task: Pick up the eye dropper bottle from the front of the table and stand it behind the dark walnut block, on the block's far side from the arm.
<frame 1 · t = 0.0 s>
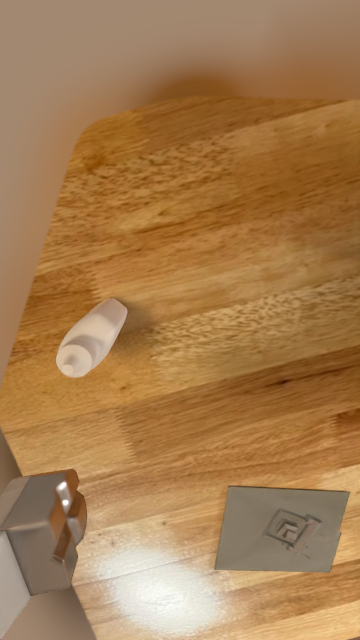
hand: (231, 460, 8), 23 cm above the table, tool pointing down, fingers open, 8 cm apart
eye dropper bottle: (104, 322, 31), on the table
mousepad: (319, 517, 38), on the table
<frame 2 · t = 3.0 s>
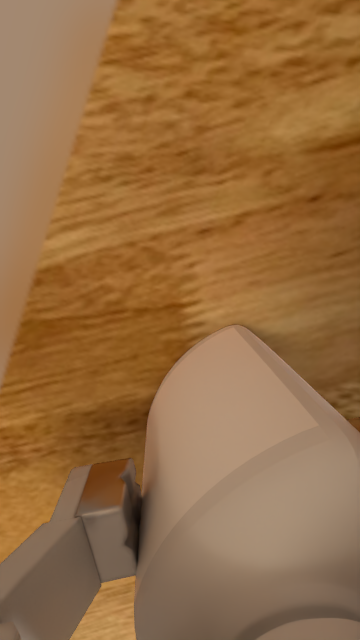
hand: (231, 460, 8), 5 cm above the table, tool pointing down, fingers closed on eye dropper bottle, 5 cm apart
eye dropper bottle: (207, 382, 12), on the table, touching gripper
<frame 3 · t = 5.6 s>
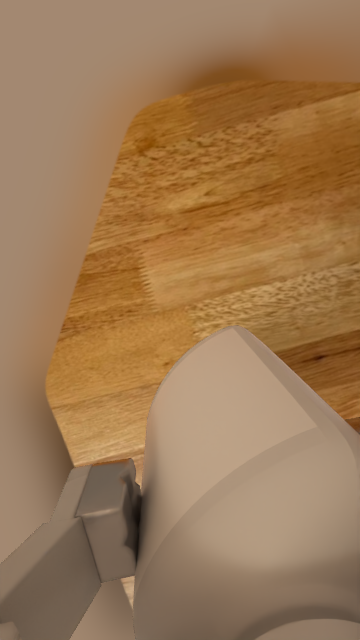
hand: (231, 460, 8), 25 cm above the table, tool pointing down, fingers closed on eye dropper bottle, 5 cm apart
eye dropper bottle: (206, 382, 12), point 20 cm above the table, touching gripper
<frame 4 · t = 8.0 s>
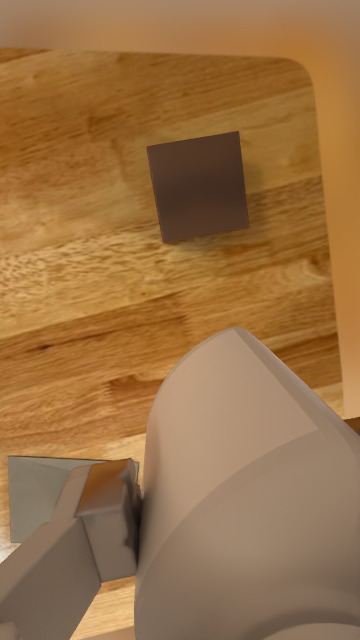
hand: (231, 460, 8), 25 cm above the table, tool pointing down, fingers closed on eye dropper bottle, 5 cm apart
walnut block: (191, 201, 30), on the table
eye dropper bottle: (207, 384, 12), point 20 cm above the table, touching gripper
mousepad: (113, 489, 38), on the table
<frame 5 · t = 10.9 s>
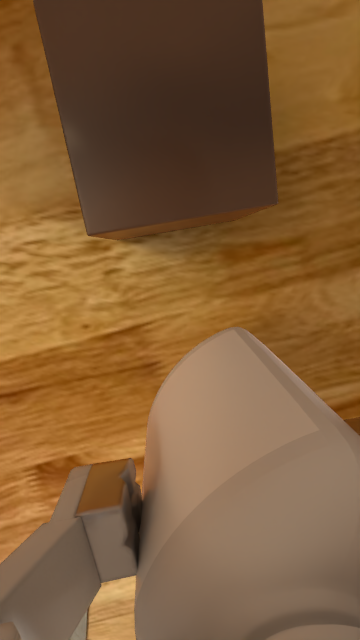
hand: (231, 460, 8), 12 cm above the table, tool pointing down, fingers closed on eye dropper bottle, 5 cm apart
walnut block: (165, 165, 17), on the table
eye dropper bottle: (207, 384, 12), point 7 cm above the table, touching gripper
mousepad: (52, 620, 24), on the table
when the fingers open (4 cm above the table, at t = 13.1 s): eye dropper bottle stays where it is, on the table.
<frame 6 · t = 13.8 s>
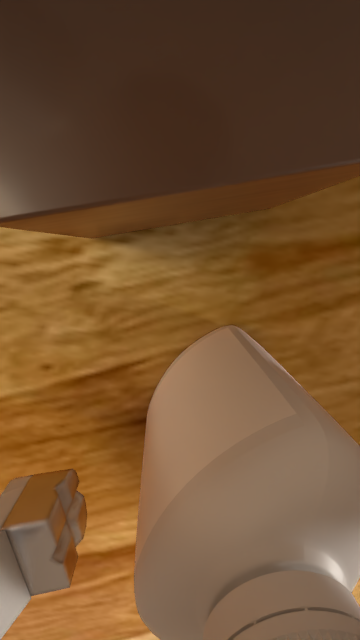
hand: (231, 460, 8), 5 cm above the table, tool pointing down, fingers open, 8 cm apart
walnut block: (164, 120, 11), on the table
eye dropper bottle: (203, 379, 13), on the table
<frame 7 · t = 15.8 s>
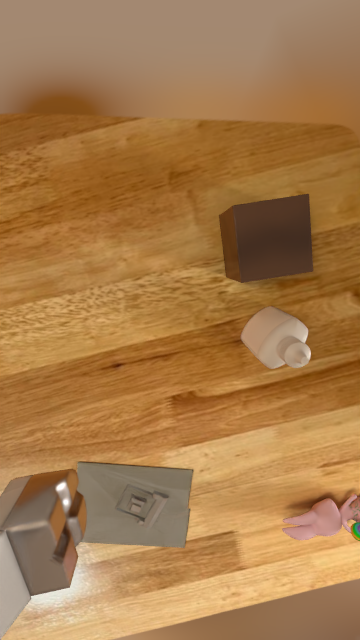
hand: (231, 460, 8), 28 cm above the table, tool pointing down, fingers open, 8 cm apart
walnut block: (252, 242, 34), on the table
eye dropper bottle: (259, 326, 37), on the table
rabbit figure: (325, 503, 43), on the table
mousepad: (168, 494, 41), on the table
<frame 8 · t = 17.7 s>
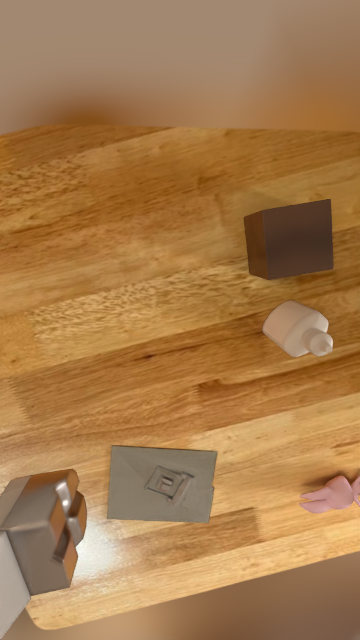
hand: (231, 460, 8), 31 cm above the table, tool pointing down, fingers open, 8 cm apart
walnut block: (274, 241, 37), on the table
eye dropper bottle: (279, 318, 40), on the table
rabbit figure: (338, 481, 47), on the table
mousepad: (194, 474, 45), on the table
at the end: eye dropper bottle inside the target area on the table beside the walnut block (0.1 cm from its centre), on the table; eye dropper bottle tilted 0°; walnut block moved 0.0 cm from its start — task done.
